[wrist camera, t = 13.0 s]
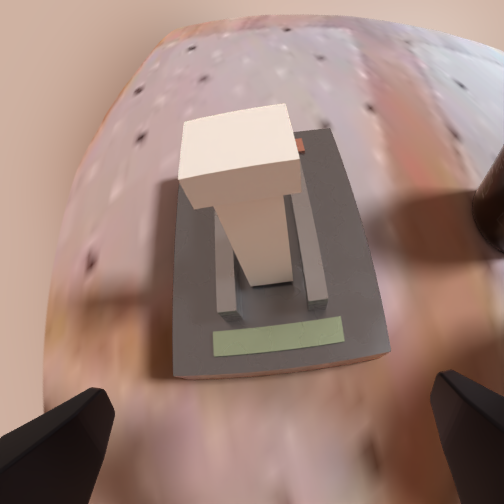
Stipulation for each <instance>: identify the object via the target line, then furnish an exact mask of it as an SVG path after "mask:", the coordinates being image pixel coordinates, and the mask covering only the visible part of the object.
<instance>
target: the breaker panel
mask: <svg viewBox="0 0 504 504" xmlns="http://www.w3.org/2000/svg"><path fill="white" fill-rule="evenodd" d="M293 134H294V138H295V142H296V146H297V150H298V154H299V158H300V171H301V190H302V193H296V194H288V195H283V198H284V205H285V213H286V222H287V230H288V238H289V247H290V256H291V265H292V274H293V281H289V282H281V283H274V284H266V285H259V286H250V284H249V282H248V280H247V278H246V276H245V274H244V271H243V269H242V267H241V265H240V263H239V261H238V259H237V256H236V254H235V252H234V250H233V248H232V246H231V244H230V241H229V239H228V237H227V235H226V233H225V231H224V228H223V226H222V224H221V222H220V220H219V218H218V215H217V213H216V211H215V209H214V207H213V206H211V207H206V208H200V209H194V208H193V207H192V205H191V203H190V201H189V199H188V198H187V196H186V194H185V192H184V190H183V188H182V187H181V185H180V183H179V190H178V203H177V216H176V232H175V251H174V276H173V376H175V377H180V378H184V379H189V380H204V379H225V378H241V377H253V376H265V375H275V374H284V373H293V372H301V371H308V370H315V369H322V368H329V367H335V366H341V365H347V364H353V363H358V362H363V361H368V360H374V359H378V358H380V357H382V356H384V355H386V354H387V353H389V352H391V348H390V342H389V336H388V331H387V325H386V320H385V315H384V310H383V306H382V301H381V296H380V292H379V287H378V283H377V279H376V274H375V270H374V266H373V262H372V258H371V254H370V250H369V247H368V243H367V239H366V236H365V232H364V228H363V225H362V221H361V218H360V215H359V211H358V208H357V205H356V201H355V198H354V195H353V192H352V189H351V186H350V183H349V180H348V177H347V174H346V171H345V168H344V165H343V162H342V159H341V156H340V153H339V151H338V148H337V145H336V142H335V140H334V137H333V134H332V132H331V129H330V128H328V129H319V130H309V131H301V132H293Z"/></svg>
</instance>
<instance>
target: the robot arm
mask: <svg viewBox="0 0 504 504" xmlns="http://www.w3.org/2000/svg"><path fill="white" fill-rule="evenodd" d="M430 402H431V406H432V410H433V413H434V417H435V421H436V424H437V428H438V432H439V436H440V440H441V444H442V448H443V451H444V454H445V456H446V459H447V462H448V465H449V468H450V470H451V473H452V476H453V479H454V482H455V485H456V488H457V492H458V495H459V498H460V501H461V504H504V397H503V396H501V395H499V394H497V393H495V392H493V391H492V390H490V389H488V388H486V387H484V386H482V385H480V384H478V383H476V382H474V381H473V380H471V379H469V378H467V377H465V376H463V375H461V374H459V373H457V372H456V371H454V370H446V371H442V372H439V373H438V374H437V375H436V378H435V382H434V385H433V388H432V392H431V395H430ZM114 417H115V411H114V408H113V406H112V404H111V401H110V399H109V397H108V395H107V393H106V391H105V390H104V389H101V388H94V387H91V388H89V389H87V390H85V391H84V392H82V393H80V394H78V395H77V396H75V397H73V398H71V399H70V400H68V401H66V402H64V403H62V404H61V405H59V406H57V407H55V408H54V409H52V410H50V411H48V412H46V413H45V414H43V415H41V416H39V417H37V418H36V419H34V420H32V421H30V422H28V423H26V424H24V425H23V426H21V427H19V428H17V429H15V430H13V431H11V432H9V433H7V434H6V435H4V436H2V437H1V438H0V504H88V503H89V500H90V497H91V494H92V491H93V488H94V485H95V483H96V480H97V477H98V474H99V471H100V468H101V466H102V463H103V460H104V456H105V453H106V449H107V445H108V441H109V437H110V433H111V429H112V425H113V421H114Z"/></svg>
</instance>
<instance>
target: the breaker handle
mask: <svg viewBox="0 0 504 504" xmlns="http://www.w3.org/2000/svg"><path fill="white" fill-rule="evenodd" d="M178 181H179V183H180V185H181V187H182V188H183V190H184V192H185V194H186V196H187V198H188V199H189V201H190V203H191V205H192V207H193V208H194V209H200V208H206V207H211V206H213V207H214V209H215V211H216V213H217V215H218V218H219V220H220V222H221V224H222V226H223V228H224V231H225V233H226V235H227V237H228V239H229V241H230V244H231V246H232V248H233V250H234V252H235V254H236V256H237V259H238V261H239V263H240V265H241V267H242V269H243V271H244V274H245V276H246V278H247V280H248V282H249V284H250V286H259V285H266V284H274V283H281V282H289V281H293V274H292V265H291V256H290V247H289V238H288V230H287V222H286V213H285V205H284V198H283V195H288V194H296V193H302V190H301V171H300V158H299V154H298V150H297V146H296V142H295V138H294V134H293V130H292V126H291V122H290V119H289V115H288V111H287V107H286V104H285V103H284V104H276V105H269V106H263V107H256V108H250V109H244V110H239V111H233V112H228V113H223V114H218V115H213V116H208V117H203V118H199V119H195V120H190V121H186V122H184V128H183V136H182V145H181V153H180V163H179V172H178Z"/></svg>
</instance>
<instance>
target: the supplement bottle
mask: <svg viewBox="0 0 504 504" xmlns="http://www.w3.org/2000/svg"><path fill="white" fill-rule="evenodd" d="M473 214H474V218H475V221H476V224H477V226H478V228H479V230H480V231H481V233H482V234H483V236H484V237H485V238H486V240H487V241H488V242H489V243H490V244H491V245H493V246H494V247H495V248H497V249H498V250H500V251H502V252H504V145H503V147H502V149H501V151H500V152H499V154H498V156H497V158H496V159H495V161H494V163H493V165H492V166H491V168H490V170H489V171H488V173H487V175H486V176H485V178H484V180H483V181H482V183H481V184H480V186H479V188H478V189H477V191H476V193H475V195H474V198H473Z"/></svg>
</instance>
